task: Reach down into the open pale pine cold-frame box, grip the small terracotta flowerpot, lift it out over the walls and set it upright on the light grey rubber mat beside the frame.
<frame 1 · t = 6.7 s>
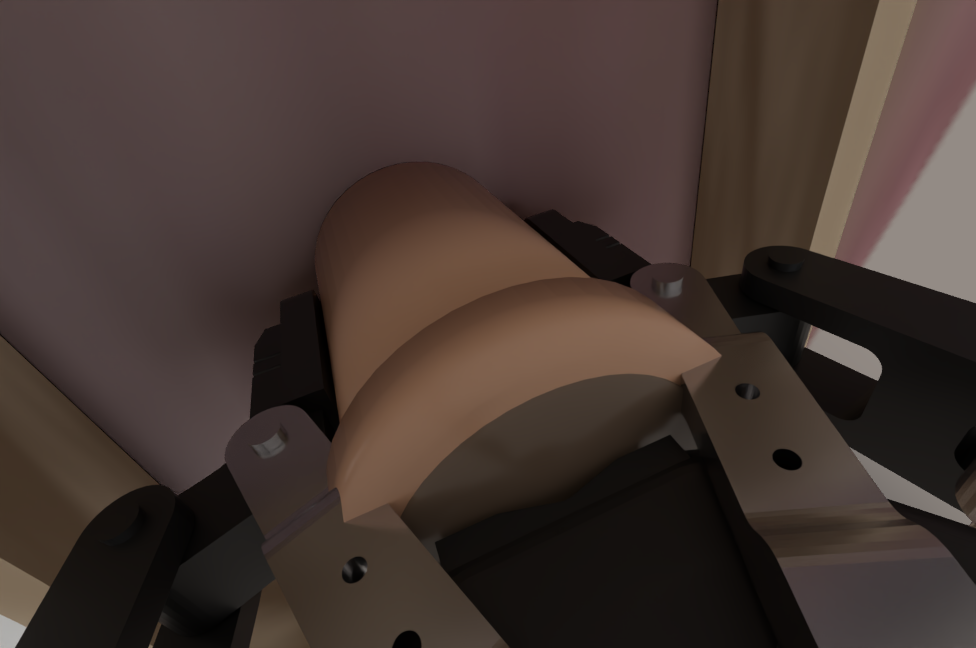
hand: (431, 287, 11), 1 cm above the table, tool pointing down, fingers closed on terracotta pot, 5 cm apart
terracotta pot: (418, 261, 12), resting in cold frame, touching gripper
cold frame: (419, 261, 12), on the table
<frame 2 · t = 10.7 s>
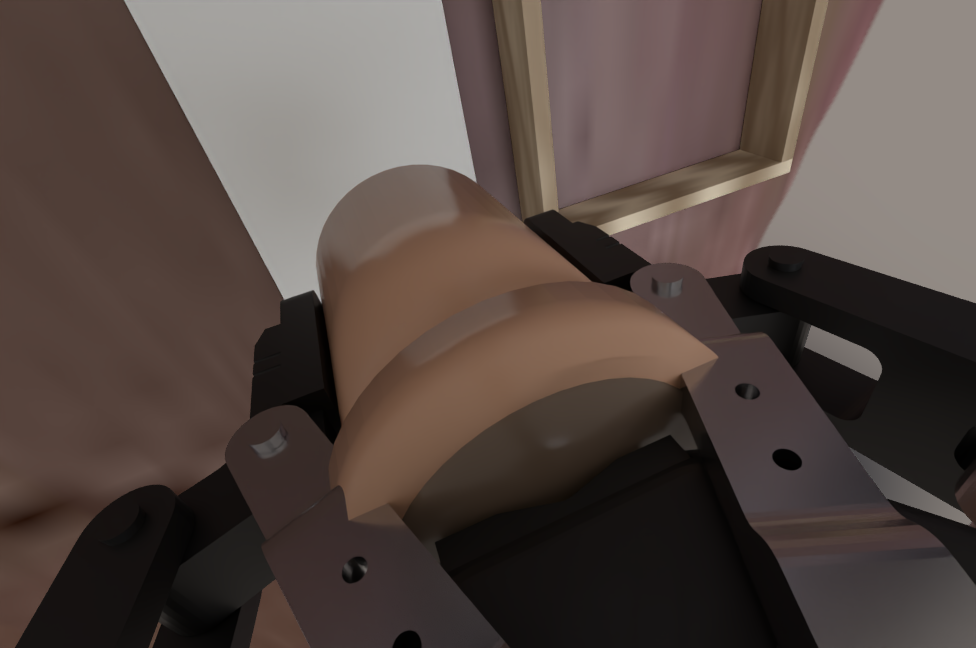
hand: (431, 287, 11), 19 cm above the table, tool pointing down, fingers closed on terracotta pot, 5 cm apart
grey mat: (342, 130, 26), on the table
terracotta pot: (418, 263, 13), point 18 cm above the table, touching gripper
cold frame: (646, 47, 30), on the table
when the fingers open (4 cm above the table, at t = 14.6 s): terracotta pot drops 2 cm, resting on grey mat.
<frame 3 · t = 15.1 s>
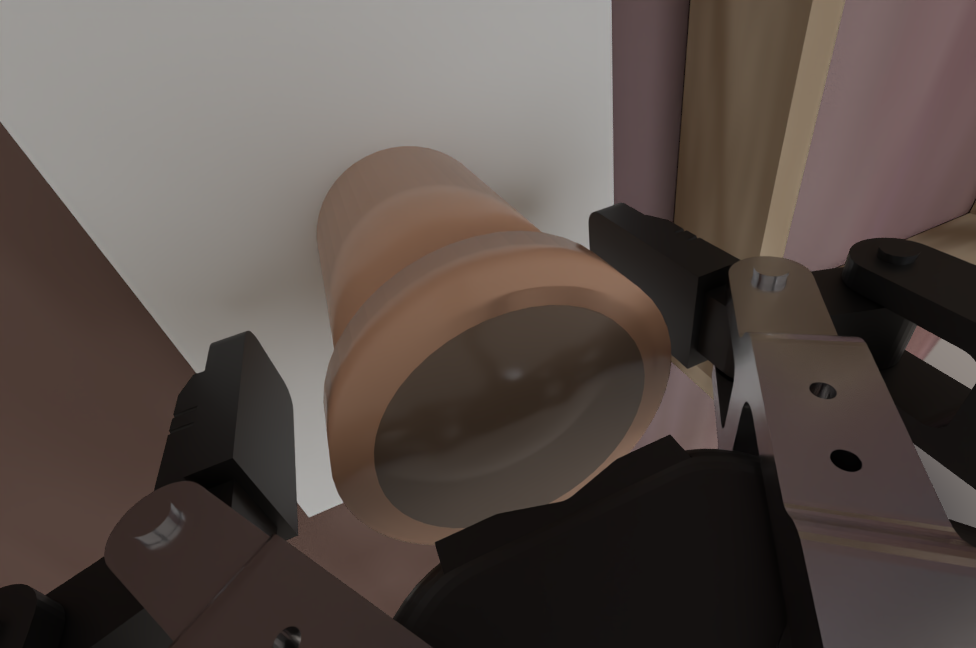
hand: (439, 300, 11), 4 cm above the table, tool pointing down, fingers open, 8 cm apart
grey mat: (401, 231, 14), on the table
terracotta pot: (410, 238, 14), point 1 cm above the table, touching grey mat
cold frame: (902, 67, 18), on the table
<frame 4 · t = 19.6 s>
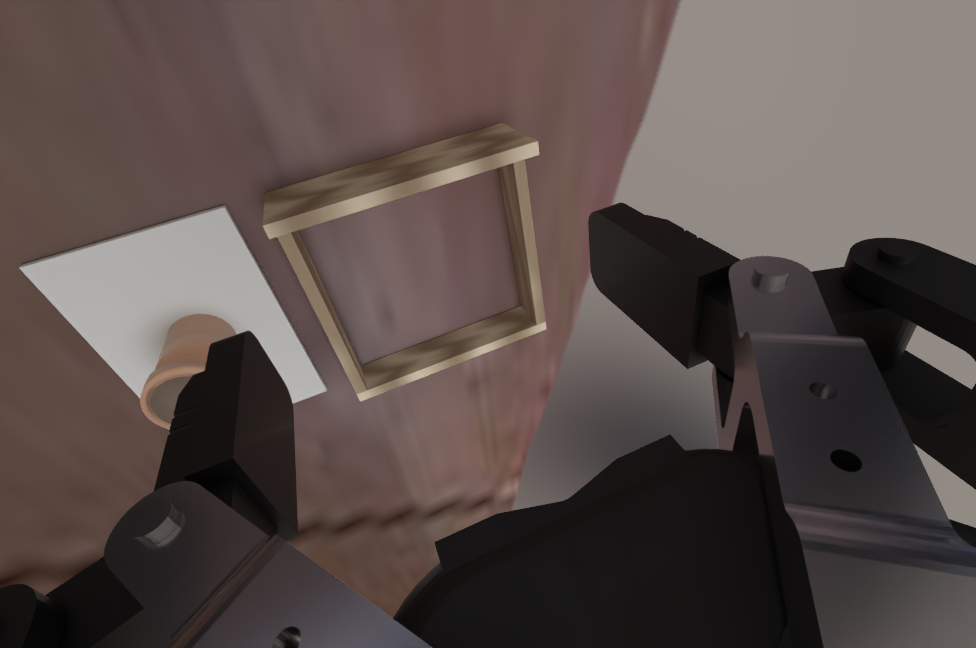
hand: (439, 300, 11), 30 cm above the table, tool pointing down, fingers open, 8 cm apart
grey mat: (202, 336, 40), on the table
terracotta pot: (203, 340, 40), point 1 cm above the table, touching grey mat
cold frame: (421, 261, 44), on the table
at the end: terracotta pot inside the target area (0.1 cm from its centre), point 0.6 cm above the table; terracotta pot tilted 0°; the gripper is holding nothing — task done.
